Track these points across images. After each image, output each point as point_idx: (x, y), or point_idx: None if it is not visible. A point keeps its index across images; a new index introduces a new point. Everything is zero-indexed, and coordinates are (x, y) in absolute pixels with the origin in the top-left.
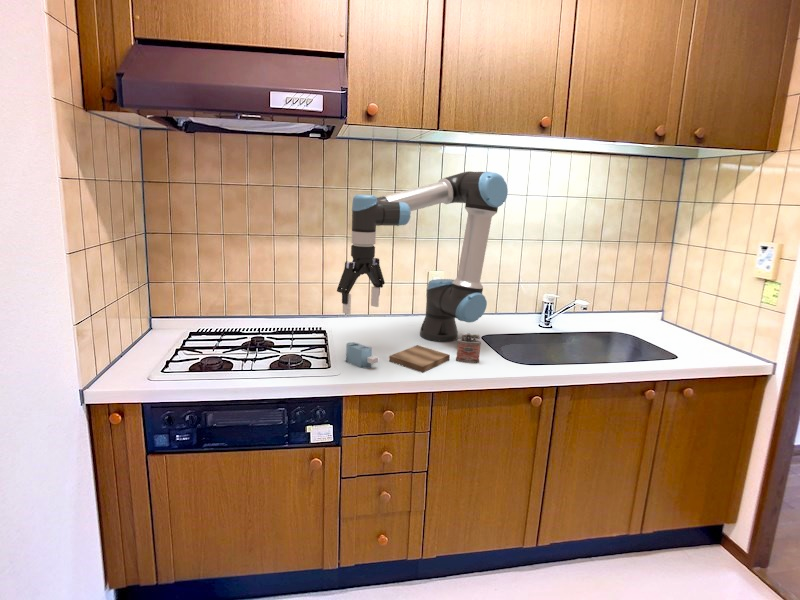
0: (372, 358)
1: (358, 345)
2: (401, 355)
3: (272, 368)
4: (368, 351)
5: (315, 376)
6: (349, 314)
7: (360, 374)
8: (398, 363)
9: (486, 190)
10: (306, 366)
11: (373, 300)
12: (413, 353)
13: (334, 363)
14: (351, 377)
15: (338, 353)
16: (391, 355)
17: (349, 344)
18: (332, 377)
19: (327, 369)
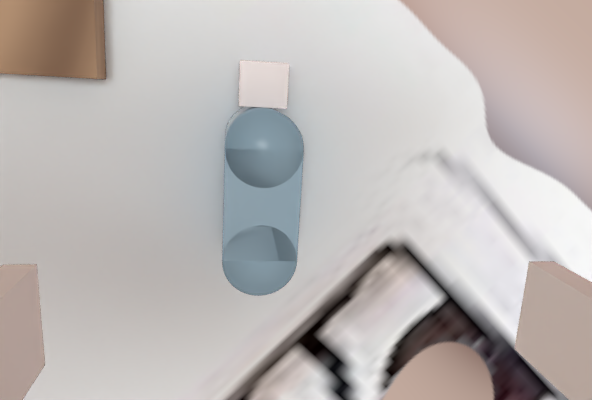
0: (278, 75)
1: (249, 221)
2: (31, 22)
3: (538, 391)
4: (278, 113)
5: (504, 215)
6: (544, 261)
7: (362, 78)
8: (101, 6)
9: None
10: (442, 321)
11: (6, 373)
12: None
13: (336, 264)
14: (418, 87)
15: (221, 344)
16: (83, 72)
17: (274, 270)
18: (470, 154)
19: (412, 235)
